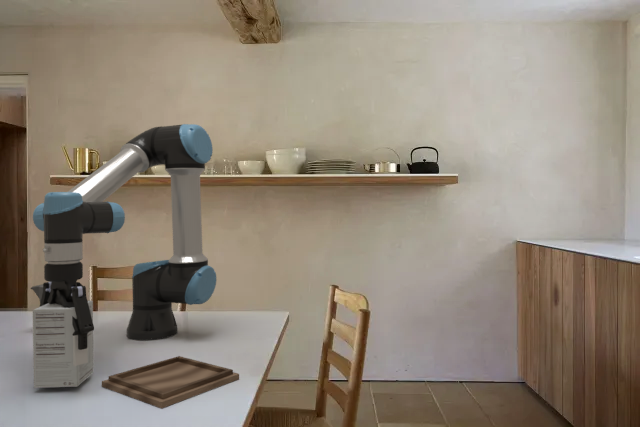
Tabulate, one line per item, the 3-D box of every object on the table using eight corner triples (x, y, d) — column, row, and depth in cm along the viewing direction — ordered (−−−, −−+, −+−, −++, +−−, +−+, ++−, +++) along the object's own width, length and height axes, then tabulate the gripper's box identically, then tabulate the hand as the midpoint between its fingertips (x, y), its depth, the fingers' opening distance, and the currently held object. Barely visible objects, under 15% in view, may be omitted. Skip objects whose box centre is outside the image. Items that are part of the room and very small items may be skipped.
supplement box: (53, 373, 113) (52, 300, 113) (94, 372, 114) (93, 299, 114) (32, 388, 104) (31, 308, 103) (77, 387, 104) (76, 307, 104)
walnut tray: (101, 386, 108) (101, 376, 108) (179, 363, 125) (179, 354, 125) (161, 408, 95) (161, 397, 95) (239, 379, 112) (239, 369, 112)
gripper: (19, 260, 113) (20, 353, 113) (76, 267, 98) (77, 373, 98) (53, 257, 119) (54, 346, 119) (111, 263, 104) (111, 364, 104)
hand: (64, 358), depth 109 cm, fingers closed on supplement box, 13 cm apart
